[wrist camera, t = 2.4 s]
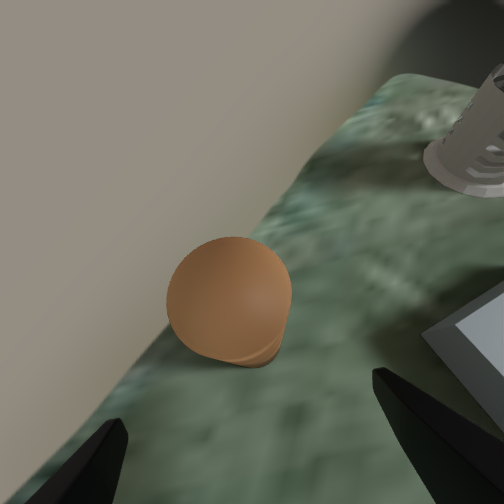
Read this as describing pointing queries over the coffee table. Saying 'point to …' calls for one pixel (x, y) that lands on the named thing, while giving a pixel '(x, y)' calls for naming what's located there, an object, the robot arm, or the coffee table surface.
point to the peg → (231, 301)
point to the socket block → (476, 349)
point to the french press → (473, 145)
